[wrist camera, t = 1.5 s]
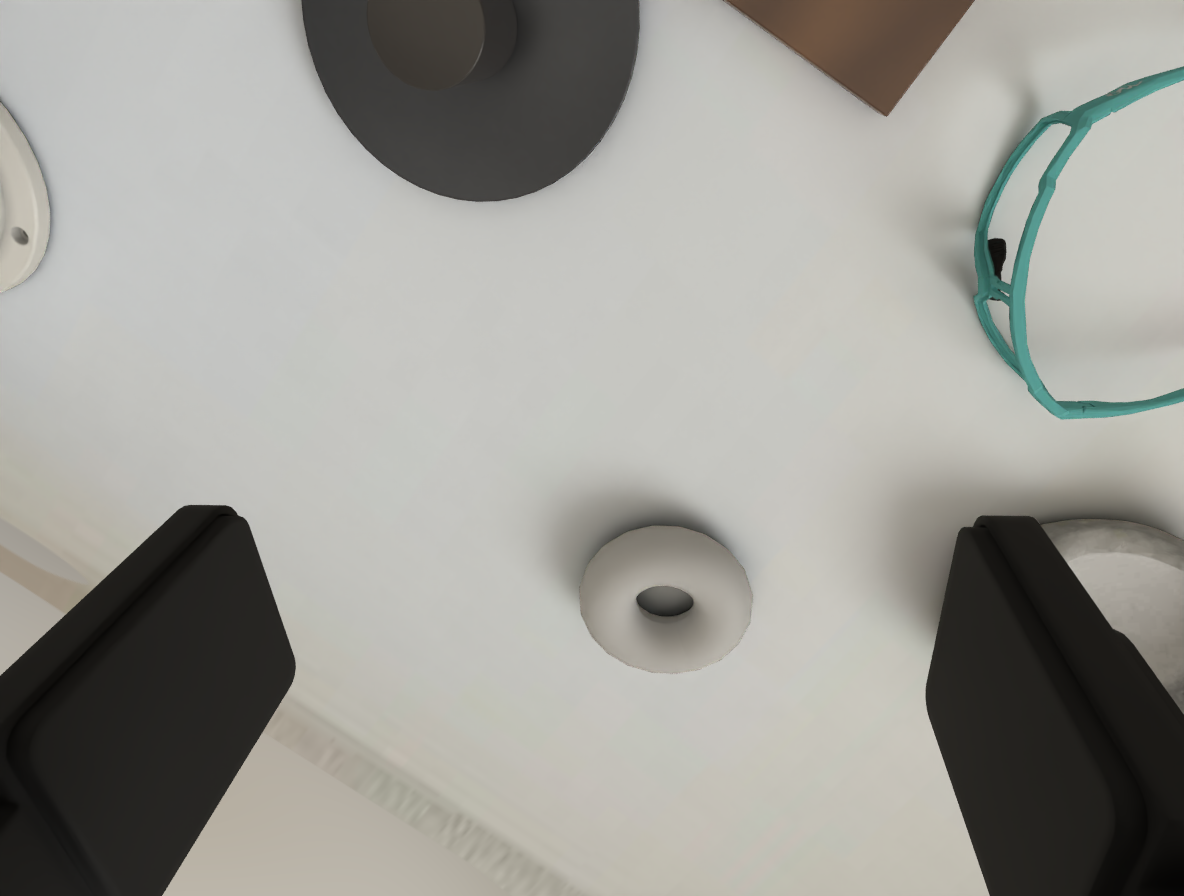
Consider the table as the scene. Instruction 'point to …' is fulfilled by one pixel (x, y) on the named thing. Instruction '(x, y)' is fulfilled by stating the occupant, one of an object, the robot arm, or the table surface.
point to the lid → (475, 85)
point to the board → (861, 39)
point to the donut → (666, 563)
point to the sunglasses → (994, 250)
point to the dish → (1132, 586)
